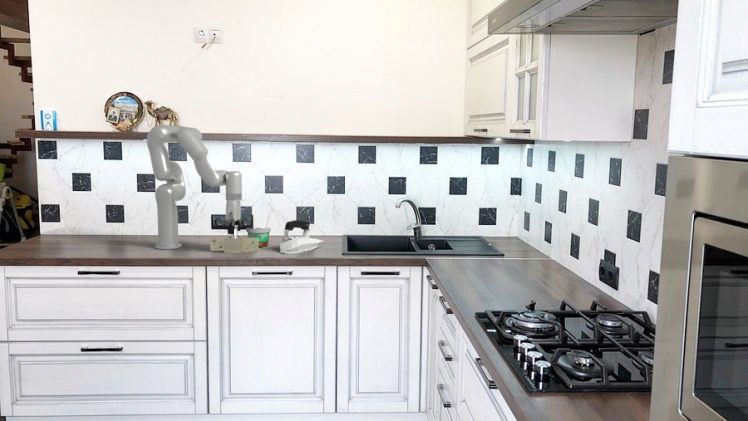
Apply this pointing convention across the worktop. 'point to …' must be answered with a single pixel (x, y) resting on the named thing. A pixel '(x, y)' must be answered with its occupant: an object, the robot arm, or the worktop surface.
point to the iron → (298, 239)
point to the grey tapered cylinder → (234, 232)
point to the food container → (259, 235)
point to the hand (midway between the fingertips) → (234, 232)
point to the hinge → (234, 244)
